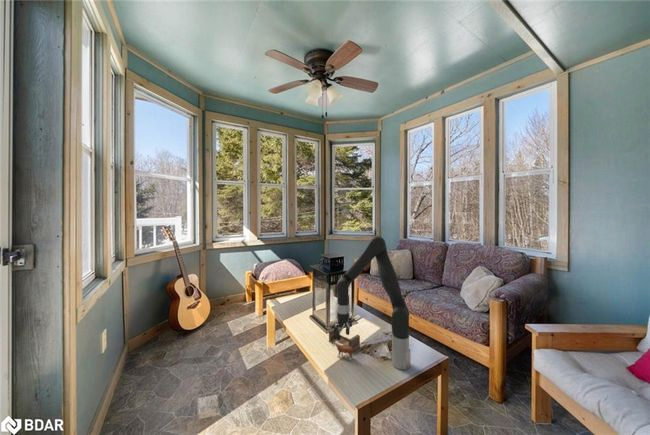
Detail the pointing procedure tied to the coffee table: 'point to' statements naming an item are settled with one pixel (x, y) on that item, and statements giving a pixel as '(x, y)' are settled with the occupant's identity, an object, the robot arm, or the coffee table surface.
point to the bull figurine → (344, 349)
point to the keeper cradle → (345, 340)
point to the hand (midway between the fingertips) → (343, 337)
